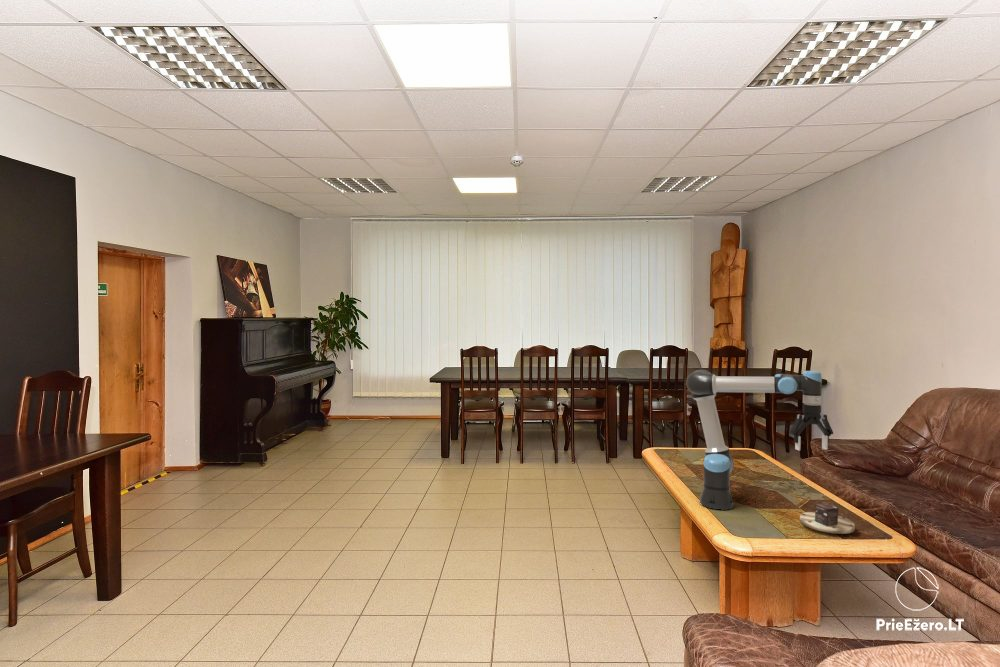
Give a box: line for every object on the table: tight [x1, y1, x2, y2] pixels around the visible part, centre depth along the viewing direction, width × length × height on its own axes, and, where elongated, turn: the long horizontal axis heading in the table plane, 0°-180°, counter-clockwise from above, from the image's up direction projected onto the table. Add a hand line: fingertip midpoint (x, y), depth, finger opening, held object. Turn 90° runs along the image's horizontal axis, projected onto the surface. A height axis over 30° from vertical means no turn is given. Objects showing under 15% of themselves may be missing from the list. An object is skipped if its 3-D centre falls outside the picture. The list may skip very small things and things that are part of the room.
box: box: [814, 502, 839, 526], centre depth 227 cm, size 6×6×7 cm
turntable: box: [799, 504, 855, 535], centre depth 232 cm, size 20×20×6 cm
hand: (811, 449), depth 253 cm, fingers open, 13 cm apart
